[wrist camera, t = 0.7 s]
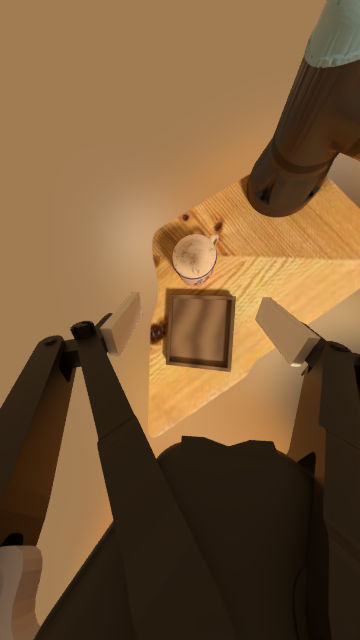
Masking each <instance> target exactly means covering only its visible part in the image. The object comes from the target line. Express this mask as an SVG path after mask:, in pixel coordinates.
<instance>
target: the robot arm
mask: <svg viewBox="0 0 360 640" xmlns="http://www.w3.org/2000/svg"><path fill="white" fill-rule="evenodd" d="M339 153H343V154H345V155H347V156H350V157H352V158H354V159H356V160H358V161H360V0H326V3H325V5H324V8H323V10H322V13H321V15H320V17H319V20H318V22H317V25H316V26H315V28H314V30H313V32H312V34H311V36H310V38H309V40H308V43H307V46H306V50H305V54H304V58H303V60H302V62H301V65H300V68H299V71H298V73H297V76H296V78H295V81H294V84H293V86H292V89H291V91H290V94H289V96H288V99H287V102H286V104H285V107H284V110H283V112H282V115H281V118H280V120H279V123H278V125H277V128H276V131H275V133H274V136H273V138H272V139H271V141H270V142H269V144H268V145H267V147H266V148H265V150H264V151H263V153H262V154H261V156H260V157H259V159H258V160H257V161H256V163H255V165H254V167H253V169H252V172H251V175H250V178H249V181H248V186H247V194H248V198H249V201H250V203H251V204H252V206H253V207H254V208H255V209H256V210H257V211H258V212H260V213H261V214H263V215H266V216H270V217H284V216H288V215H291V214H294V213H296V212H297V211H299V210H301V209H302V208H303V207H304V206H305V205H307V203H308V202H309V201H310V200H311V199H312V198H313V197H314V196H315V195H316V193H317V192H318V190H319V189H320V187H321V185H322V183H323V181H324V179H325V177H326V175H327V173H328V171H329V169H330V167H331V165H332V163H333V161H334V159H335V157H336V156H337V155H338V154H339ZM141 316H142V310H141V303H140V295H139V293H138V292H132V293H131V294H130V295H129V296H128V297H127V298H126V300H125V301H124V302H123V303H122V304H121V305H120V306H119V307H118V308H117V310H116V311H115V312H114V313H109V314H107V315H106V316H104V317H103V318H102V320H100V322H99V323H98V324H97V325H96V326H94V324H93V322H91V321H82V322H79V323H76V324H75V325H73V326H72V327H71V329H70V330H71V332H72V334H73V336H74V338H75V339H72V340H66V341H64V339H63V337H61V336H58V335H57V336H51V337H47V338H45V339H43V340H42V341H40V342H39V343H38V344H37V346H36V348H35V350H34V351H33V353H32V355H31V356H30V358H29V360H28V362H27V363H26V365H25V367H24V369H23V370H22V372H21V374H20V375H19V377H18V379H17V381H16V382H15V384H14V386H13V388H12V389H11V391H10V393H9V395H8V396H7V398H6V400H5V402H4V403H3V405H2V407H1V408H0V640H360V354H357V353H352V352H351V350H349V349H348V348H347V347H345V346H344V345H342V344H339V343H337V342H332V341H326V340H325V339H323V338H322V337H321V336H319V335H318V334H317V333H316V332H314V331H313V330H312V329H310V327H308V326H307V325H306V324H304V323H302V322H300V321H299V320H298V319H296V318H295V317H294V316H293V315H291V314H290V313H289V312H288V311H286V310H285V309H284V308H283V307H282V306H280V305H279V304H278V303H277V302H275V301H274V300H273V299H272V298H268V297H263V299H262V302H261V304H260V307H259V310H258V313H257V315H256V318H255V320H256V321H257V323H258V324H259V325H260V327H261V328H262V329H263V331H264V332H265V333H266V335H267V336H268V337H269V339H270V340H271V341H272V342H273V344H274V345H275V346H276V348H277V349H278V350H279V352H280V353H281V354H282V356H283V357H284V358H285V359H286V361H287V362H288V363H289V365H290V366H301V365H302V364H303V362H304V361H306V362H307V363H308V366H307V367H306V369H305V370H304V371H303V373H302V374H301V375H302V376H303V375H304V379H303V384H302V389H301V394H300V400H299V404H298V409H297V414H296V419H295V424H294V428H293V434H292V439H291V443H290V448H289V451H288V453H287V455H286V454H284V453H282V452H280V451H278V450H276V448H275V445H274V443H273V442H272V441H256V440H249V441H246V442H242V443H239V444H236V445H232V446H226V445H223V444H220V443H218V442H215V441H212V440H210V439H207V438H205V437H192V436H182V439H181V440H182V441H181V442H180V443H176V444H174V445H172V446H170V447H169V448H167V449H166V450H165V451H163V452H162V453H161V454H160V455H159V456H158V458H157V459H156V458H155V456H154V454H153V451H152V449H151V447H150V445H149V443H148V441H147V438H146V436H145V434H144V432H143V430H142V428H141V426H140V423H139V421H138V419H137V417H136V416H135V415H134V413H133V411H132V409H131V406H130V404H129V402H128V400H127V397H126V395H125V393H124V391H123V389H122V387H121V384H120V383H119V380H118V378H117V376H116V373H115V372H114V369H113V367H112V365H111V363H110V360H109V359H108V356H107V352H108V353H109V356H110V357H120V355H121V353H122V352H123V350H124V348H125V346H126V344H127V342H128V340H129V338H130V336H131V335H132V333H133V331H134V329H135V327H136V325H137V323H138V322H139V320H140V318H141ZM80 366H81V367H82V371H83V375H84V379H85V383H86V387H87V392H88V396H89V400H90V404H91V409H92V413H93V417H94V421H95V425H96V430H97V434H98V443H97V445H98V451H99V457H100V461H101V465H102V470H103V475H104V479H105V484H106V488H107V493H108V497H109V501H110V506H111V511H112V515H113V522H112V523H111V525H110V526H109V528H108V529H107V531H106V532H105V534H104V535H103V536H102V538H101V539H100V541H99V542H98V544H97V545H96V546H95V548H94V549H93V551H92V552H91V554H90V555H89V556H88V558H87V559H86V561H85V562H84V564H83V565H82V567H81V568H80V570H79V571H78V572H77V574H76V575H75V577H74V578H73V580H72V581H71V583H70V584H69V585H68V587H67V588H66V590H65V591H64V593H63V594H62V596H61V597H60V599H59V600H58V601H57V603H56V604H55V606H54V607H53V609H52V610H51V612H50V613H49V615H48V616H47V618H46V619H45V621H44V622H43V624H42V626H40V625H39V624H38V623H37V619H36V614H35V598H36V593H37V588H38V585H39V581H40V576H41V571H42V555H41V551H40V550H39V549H38V548H37V547H36V545H37V542H38V539H39V535H40V532H41V529H42V526H43V523H44V520H45V516H46V512H47V508H48V504H49V500H50V495H51V490H52V486H53V481H54V476H55V471H56V466H57V460H58V456H59V451H60V446H61V441H62V436H63V431H64V426H65V421H66V416H67V411H68V407H69V402H70V397H71V391H72V387H73V381H74V377H75V372H76V367H80Z"/></svg>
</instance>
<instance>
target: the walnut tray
mask: <svg viewBox="0 0 360 640" xmlns="http://www.w3.org/2000/svg"><path fill="white" fill-rule="evenodd" d="M235 301H236V296H206V295H174V294H170V299H169V317H168V335H167V354H166V365H174V366H183V367H192V368H201V369H209V370H218V371H227V372H231V361H232V346H233V331H234V316H235Z"/></svg>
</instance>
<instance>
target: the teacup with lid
mask: <svg viewBox="0 0 360 640" xmlns="http://www.w3.org/2000/svg"><path fill="white" fill-rule="evenodd" d="M218 237H219V236H218V235H217V234H216V233H214V234H212V235H211V236H210V237H209V238H207V237H206V236H204V235H201V234H191V235H188V236H185V237H184V238H182V239H181V240H180V241H179V242H178V243H177V244H176V246H175V248H174V251H173V255H172V262H173V266H174V268H175V270H176V271H177V273H178V274H179V275H180V277H181V278H182V280H183V281H184V282H185V283H186V284H187V285H190V286H194V287H197V286H201V285H203V284H205V283H206V282H208V280H209V279H210V278H211V276H212V273H213V268H214V265H215V263H216V259H217V252H216V248H215V245H216V243H217V241H218Z"/></svg>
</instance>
